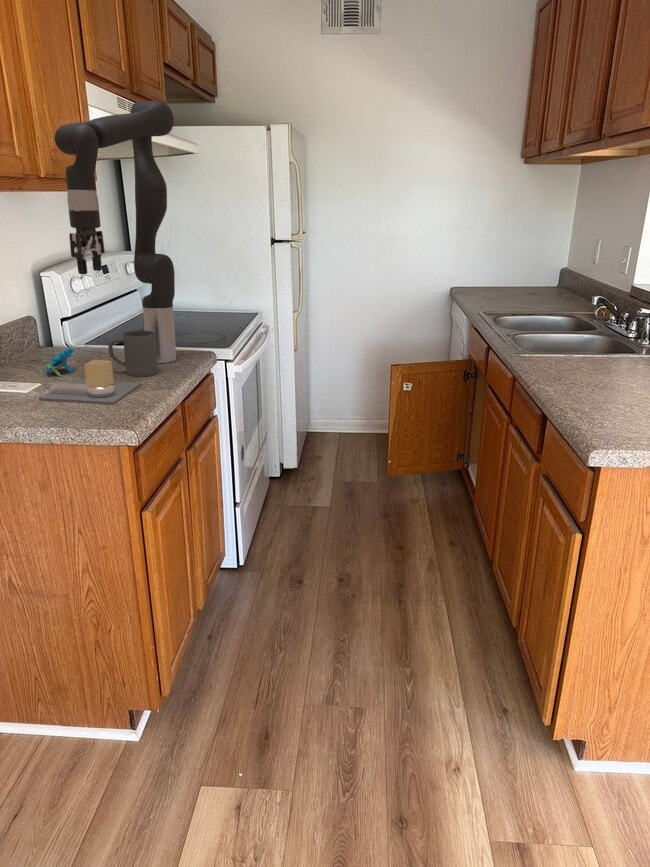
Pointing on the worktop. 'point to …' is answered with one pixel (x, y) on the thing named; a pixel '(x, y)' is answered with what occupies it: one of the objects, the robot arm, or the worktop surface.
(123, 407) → the worktop surface
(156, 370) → the mug
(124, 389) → the mat
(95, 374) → the wooden toy cube
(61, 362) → the blue toy piece
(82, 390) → the ratchet
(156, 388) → the worktop surface
